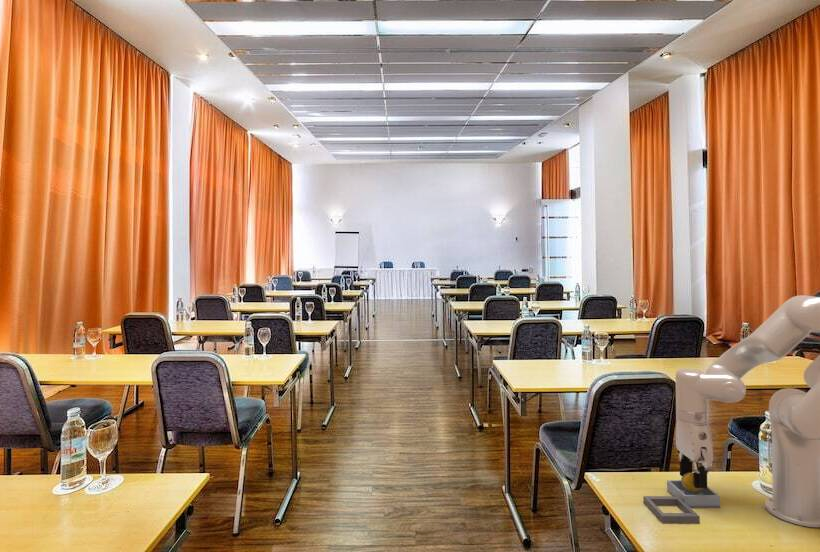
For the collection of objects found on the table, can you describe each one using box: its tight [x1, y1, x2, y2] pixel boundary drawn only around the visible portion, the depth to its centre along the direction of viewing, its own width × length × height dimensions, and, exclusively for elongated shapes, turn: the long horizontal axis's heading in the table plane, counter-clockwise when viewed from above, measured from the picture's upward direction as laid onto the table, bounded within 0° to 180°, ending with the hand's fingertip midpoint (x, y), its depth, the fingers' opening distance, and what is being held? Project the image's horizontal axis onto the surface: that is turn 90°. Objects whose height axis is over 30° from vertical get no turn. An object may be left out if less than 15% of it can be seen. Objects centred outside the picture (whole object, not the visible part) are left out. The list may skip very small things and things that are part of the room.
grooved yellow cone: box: [680, 472, 704, 494], centre depth 124 cm, size 5×5×10 cm
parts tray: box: [666, 479, 721, 509], centre depth 124 cm, size 9×9×3 cm
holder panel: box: [643, 495, 701, 525], centre depth 118 cm, size 9×10×2 cm
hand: (693, 480), depth 124 cm, fingers closed on grooved yellow cone, 6 cm apart
